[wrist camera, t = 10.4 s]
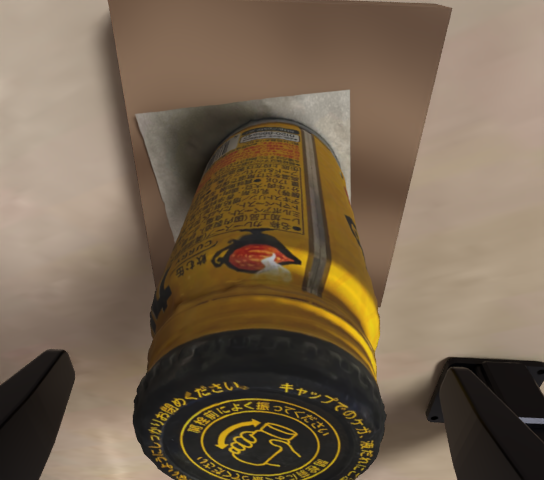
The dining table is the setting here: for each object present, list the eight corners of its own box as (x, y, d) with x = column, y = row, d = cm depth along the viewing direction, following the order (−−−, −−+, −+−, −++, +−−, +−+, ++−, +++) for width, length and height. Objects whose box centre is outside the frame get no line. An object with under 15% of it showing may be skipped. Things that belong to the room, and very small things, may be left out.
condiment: (351, 243, 20) (415, 525, 10) (180, 256, 21) (79, 531, 11) (349, 87, 16) (455, 296, 6) (137, 111, 17) (-91, 331, 7)
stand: (373, 283, 24) (380, 307, 22) (166, 274, 24) (157, 297, 22) (434, 3, 16) (452, 8, 14) (125, -9, 16) (107, -5, 14)
